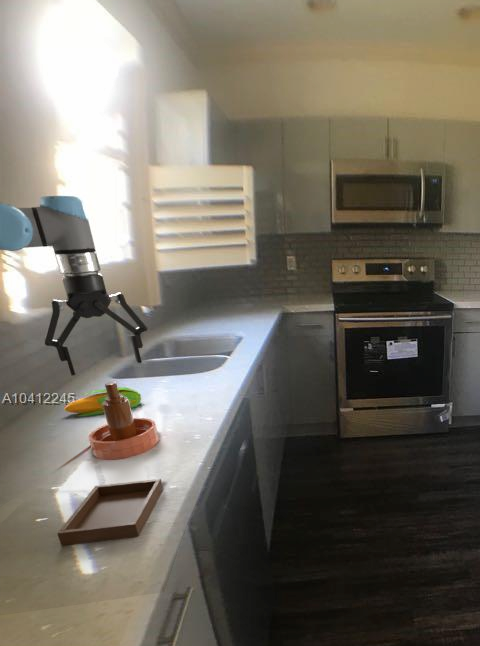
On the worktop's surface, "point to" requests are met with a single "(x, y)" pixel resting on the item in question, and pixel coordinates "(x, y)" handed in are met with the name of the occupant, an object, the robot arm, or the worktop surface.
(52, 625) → the worktop surface
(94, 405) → the corn
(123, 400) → the bottle
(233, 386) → the worktop surface
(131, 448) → the bowl
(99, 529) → the tray
